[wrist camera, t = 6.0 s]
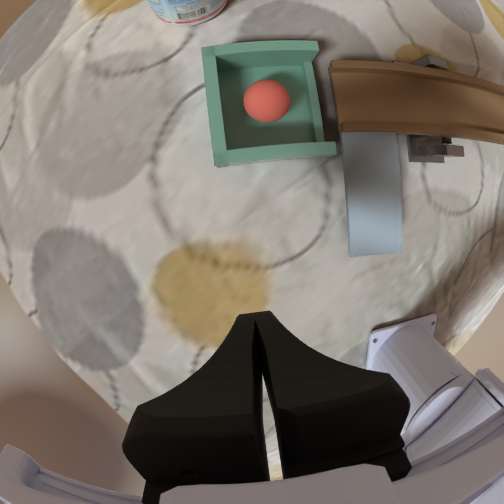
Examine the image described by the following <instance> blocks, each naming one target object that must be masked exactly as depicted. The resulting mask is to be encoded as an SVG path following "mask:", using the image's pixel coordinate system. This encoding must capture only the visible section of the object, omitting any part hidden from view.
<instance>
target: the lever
mask: <svg viewBox="0 0 504 504" xmlns="http://www.w3.org/2000/svg"><path fill="white" fill-rule="evenodd" d="M328 71H329V76H330V81H331V86H332V91H333V97H334V103H335V109H336V115H337V122H338V129H339V136H340V144H341V152H342V161H343V170H344V181H345V193H346V207H347V226H348V254H349V255H350V257H356V256H367V255H379V254H391V253H402V233H403V221H402V188H401V173H400V161H399V151H398V143H397V135H396V134H414V135H430V136H442V143H443V144H452V142H451V137H454V138H463V139H471V140H478V141H485V142H491V143H497V144H503V145H504V87H503V86H500V85H497V84H494V83H491V82H488V81H485V80H481V79H478V78H474V77H470V76H467V75H463V74H458V73H454V72H450V71H445V70H440V69H435V68H429V67H423V66H416V65H409V64H401V63H391V62H379V61H361V60H331V63H330V66H329V68H328Z"/></svg>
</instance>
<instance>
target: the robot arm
mask: <svg viewBox="0 0 504 504" xmlns="http://www.w3.org/2000/svg"><path fill="white" fill-rule="evenodd" d="M436 322H437V315H436V314H434V313H433V314H430V315H427V316H423V317H420V318H417V319H413V320H410V321H406V322H403V323H399V324H396V325H392V326H388V327H385V328H381V329H377V330H374V331H372V332H371V334H370V338H369V347H368V355H367V363H366V369H362V368H358V367H355V366H351V365H348V364H345V363H342V362H339V361H337V360H334V359H332V358H330V357H327V356H325V355H323V354H321V353H319V352H317V351H316V350H314V349H312V348H311V347H309V346H307V345H306V344H304V343H303V342H302V341H300V340H299V339H298V338H297V337H295V336H294V335H293V334H292V333H291V332H290V331H289V330H287V329H286V328H285V327H284V326H283V325H282V324H281V323H280V322H279V320H278V319H277V318H276V317H275V316H274V314H273V313H272V312H271V311H263V312H255V313H248V314H240V315H238V317H237V318H236V320H235V322H234V324H233V326H232V328H231V330H230V332H229V333H228V335H227V336H226V338H225V340H224V341H223V343H222V344H221V345H220V347H219V348H218V349H217V351H216V352H215V353H214V354H213V356H212V357H211V358H210V359H209V360H208V361H207V362H206V363H205V364H204V365H203V366H202V367H201V368H200V369H199V370H198V371H196V372H195V373H194V374H193V375H191V376H190V377H189V378H188V379H186V380H185V381H184V382H182V383H181V384H179V385H178V386H176V387H175V388H173V389H171V390H170V391H168V392H166V393H164V394H163V395H161V396H159V397H156V398H154V399H152V400H150V401H148V402H146V403H143V404H141V405H139V406H137V408H136V410H135V412H134V414H133V416H132V418H131V421H130V423H129V426H128V429H127V432H126V435H125V438H124V441H123V444H122V449H123V453H124V454H125V456H126V458H127V459H128V461H129V462H130V463H131V464H132V465H133V467H134V468H135V469H136V470H137V471H138V472H139V473H140V475H141V476H142V477H143V478H144V479H145V480H146V483H145V488H144V492H143V497H141V496H135V495H130V494H125V493H120V492H116V491H111V490H107V489H103V488H100V487H96V486H92V485H89V484H85V483H82V482H79V481H76V480H73V479H70V478H67V477H64V476H62V475H59V474H56V473H54V472H51V471H49V470H46V469H44V468H42V467H40V466H39V465H38V464H37V462H36V461H35V460H34V459H33V458H32V457H30V456H29V455H28V454H27V453H25V452H23V451H22V450H20V449H17V448H16V447H14V446H11V445H10V444H6V446H5V447H4V449H3V451H2V452H1V454H0V499H1V500H2V501H3V502H4V503H6V504H504V383H503V382H502V381H501V380H500V379H499V378H498V377H496V375H495V374H493V373H492V372H491V371H490V370H489V369H488V368H485V369H483V370H481V369H479V370H478V371H477V372H476V373H475V375H476V377H475V376H474V375H473V374H471V373H470V372H469V371H468V370H467V369H466V368H465V367H464V366H463V365H462V364H461V363H460V362H459V361H457V359H456V358H455V357H454V356H453V355H452V354H451V353H450V352H449V351H448V350H447V349H445V348H444V347H443V346H442V345H441V344H440V343H439V342H438V341H437V340H436V339H435V338H434V337H433V336H434V331H435V327H436ZM374 339H376V340H374ZM373 340H374V341H373ZM262 373H263V377H264V381H265V385H266V389H267V393H268V397H269V400H270V404H271V408H272V412H273V416H274V421H275V427H276V433H277V440H278V447H279V453H280V460H281V467H282V474H283V479H282V480H275V481H270V475H269V468H268V460H267V452H266V444H265V435H264V427H263V386H262Z"/></svg>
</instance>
